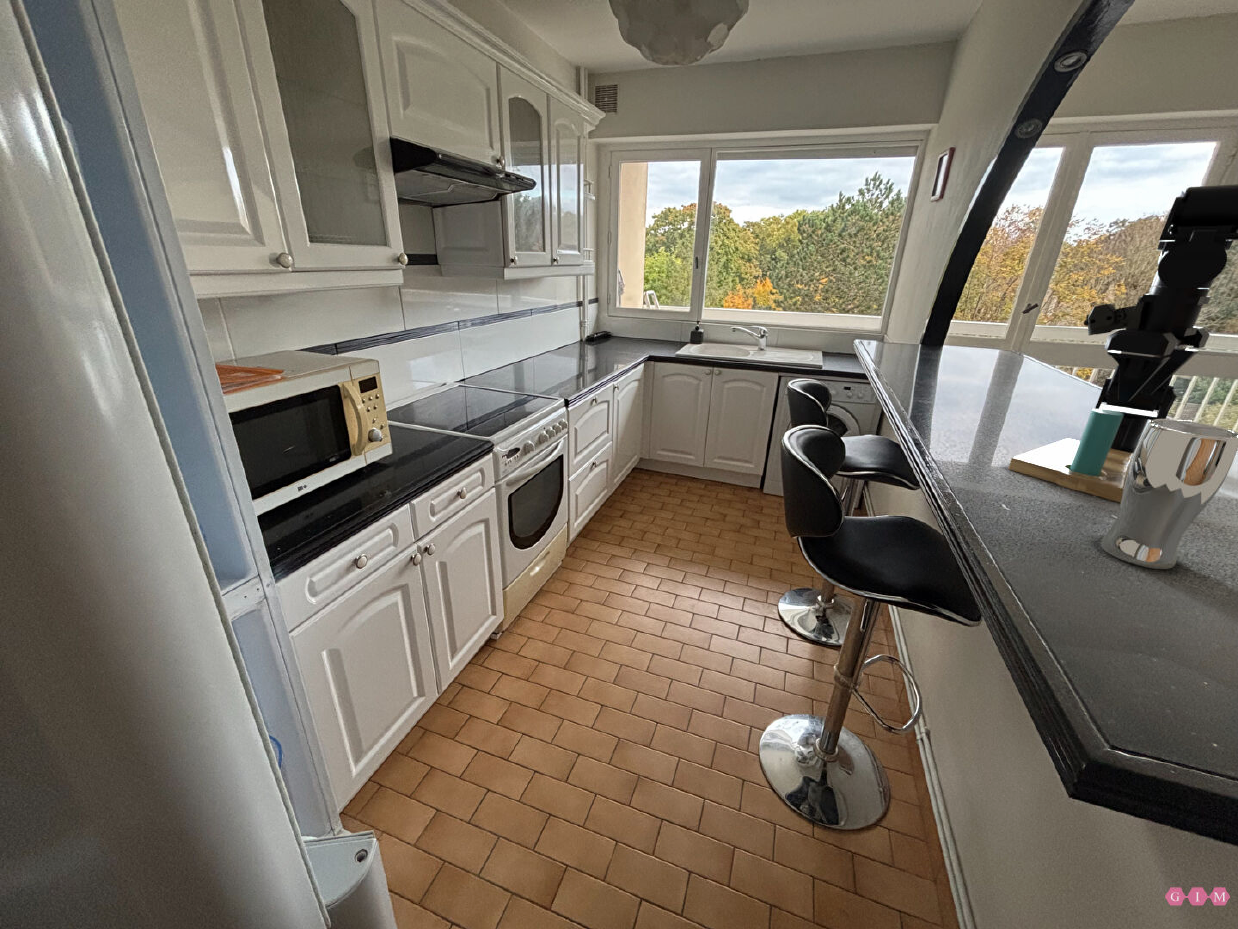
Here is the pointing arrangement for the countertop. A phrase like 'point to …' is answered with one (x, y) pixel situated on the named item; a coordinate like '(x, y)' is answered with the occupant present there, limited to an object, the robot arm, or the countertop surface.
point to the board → (1056, 465)
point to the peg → (1096, 441)
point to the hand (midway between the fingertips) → (1134, 397)
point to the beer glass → (1168, 489)
